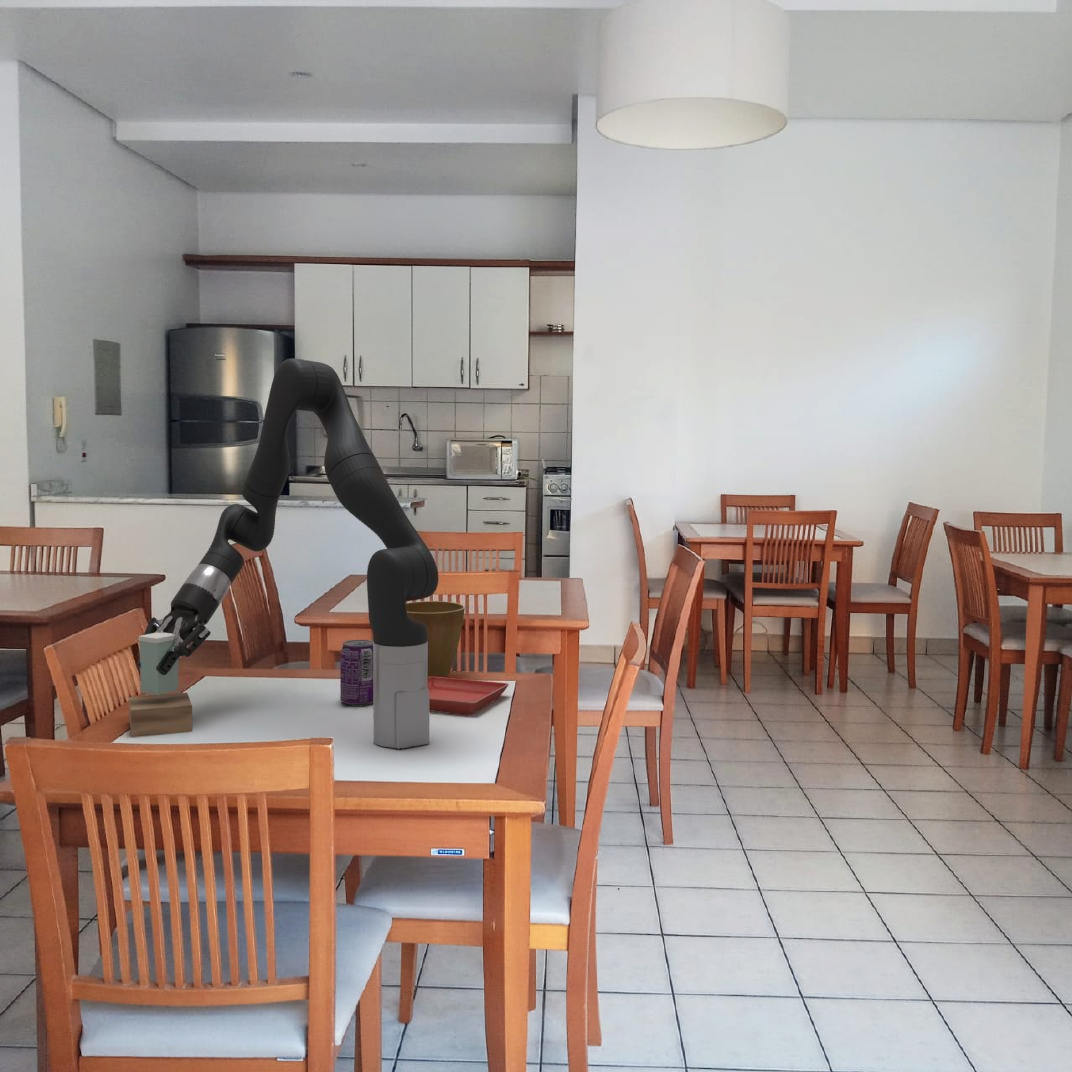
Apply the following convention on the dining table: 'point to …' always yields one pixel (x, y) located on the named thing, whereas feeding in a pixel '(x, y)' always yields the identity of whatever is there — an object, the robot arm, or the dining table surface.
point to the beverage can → (356, 672)
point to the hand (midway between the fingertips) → (150, 670)
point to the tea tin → (150, 657)
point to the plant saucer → (462, 694)
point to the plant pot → (439, 632)
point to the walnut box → (160, 714)
